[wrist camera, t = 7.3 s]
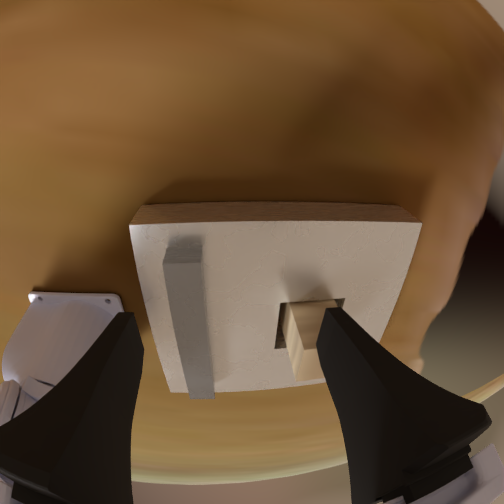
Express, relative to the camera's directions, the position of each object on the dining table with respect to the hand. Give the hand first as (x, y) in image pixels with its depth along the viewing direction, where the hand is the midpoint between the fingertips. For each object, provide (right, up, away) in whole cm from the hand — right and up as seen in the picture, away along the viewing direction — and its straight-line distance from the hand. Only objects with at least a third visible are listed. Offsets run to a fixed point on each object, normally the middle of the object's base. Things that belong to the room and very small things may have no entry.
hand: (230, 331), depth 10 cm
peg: (+4, 0, +12) cm, 13 cm away
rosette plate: (+2, -1, +12) cm, 12 cm away
